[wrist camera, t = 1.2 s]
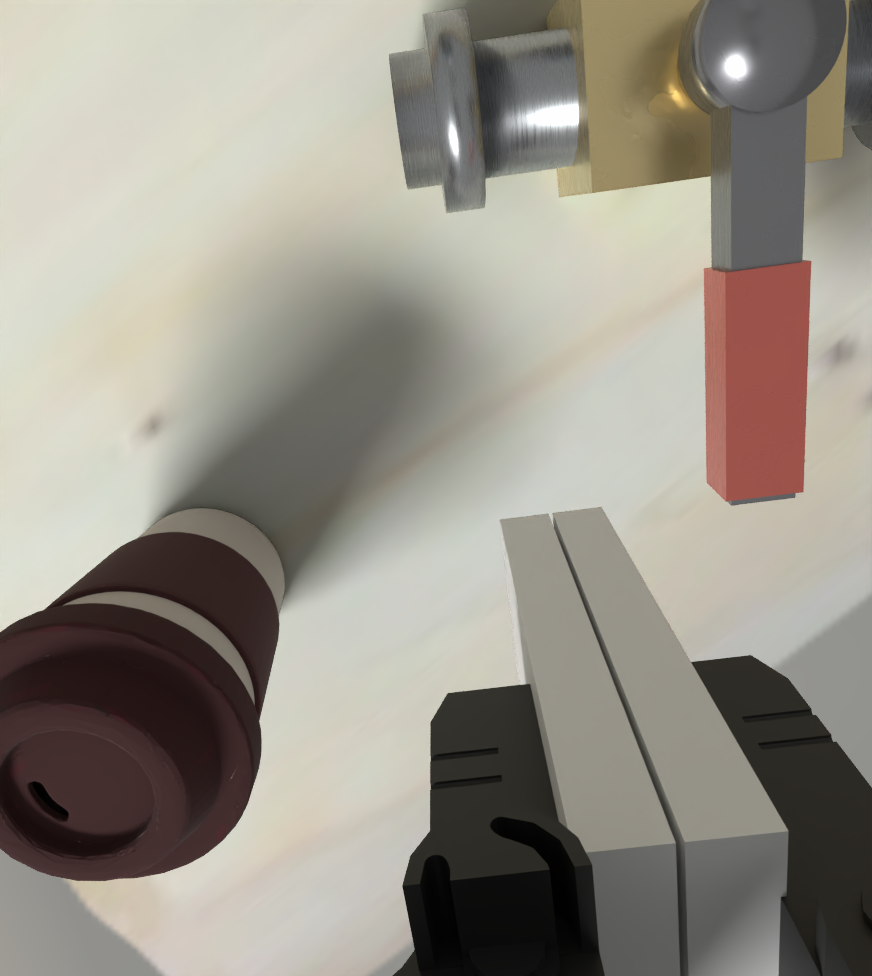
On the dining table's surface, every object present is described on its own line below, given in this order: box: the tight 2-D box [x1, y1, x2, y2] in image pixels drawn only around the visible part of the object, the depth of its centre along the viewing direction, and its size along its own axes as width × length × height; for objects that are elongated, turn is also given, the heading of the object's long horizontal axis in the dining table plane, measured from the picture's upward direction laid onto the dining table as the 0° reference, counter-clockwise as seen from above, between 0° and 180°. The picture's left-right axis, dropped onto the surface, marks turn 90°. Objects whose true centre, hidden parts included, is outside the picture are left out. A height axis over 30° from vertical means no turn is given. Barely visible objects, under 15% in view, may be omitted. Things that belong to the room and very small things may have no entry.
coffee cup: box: [0, 508, 285, 881], centre depth 30 cm, size 10×10×15 cm
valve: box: [389, 0, 872, 213], centre depth 26 cm, size 20×6×9 cm, turn 98°
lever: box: [678, 0, 847, 505], centre depth 22 cm, size 15×4×2 cm, turn 8°
